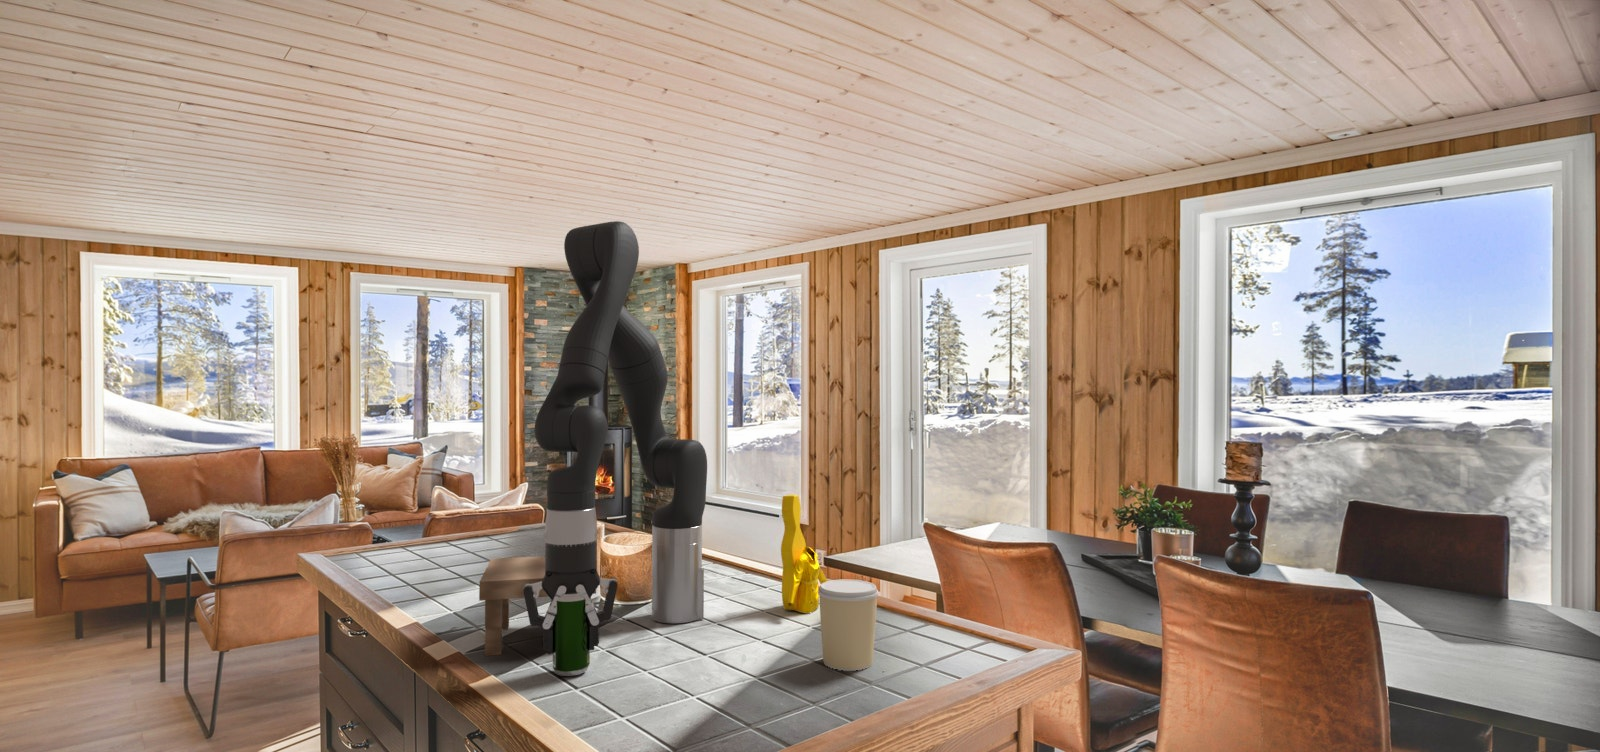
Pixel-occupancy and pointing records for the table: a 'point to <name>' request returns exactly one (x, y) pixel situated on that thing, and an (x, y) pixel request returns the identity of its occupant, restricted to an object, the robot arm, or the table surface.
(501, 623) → the walnut stool
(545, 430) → the robot arm
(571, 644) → the beer can
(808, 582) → the yellow raincoat figure
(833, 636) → the coffee cup
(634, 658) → the table surface
